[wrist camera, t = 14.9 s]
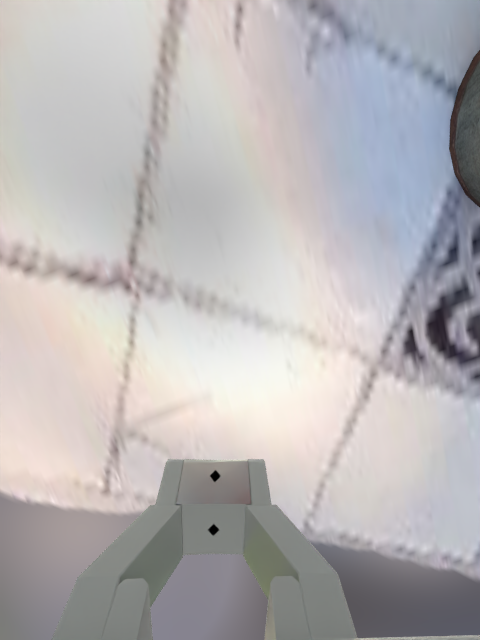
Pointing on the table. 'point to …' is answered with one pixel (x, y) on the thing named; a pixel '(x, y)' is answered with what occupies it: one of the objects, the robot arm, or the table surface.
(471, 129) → the barrel
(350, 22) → the table surface
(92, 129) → the table surface
